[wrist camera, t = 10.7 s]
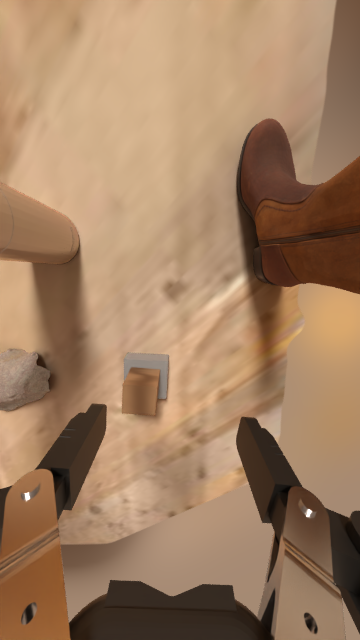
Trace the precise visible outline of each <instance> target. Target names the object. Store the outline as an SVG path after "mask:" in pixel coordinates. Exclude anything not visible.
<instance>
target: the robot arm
mask: <svg viewBox="0 0 360 640" xmlns="http://www.w3.org/2000/svg"><path fill="white" fill-rule="evenodd" d="M78 247H79V236H78V232H77V230H76V228H75V226H74V224H73V223H72V222H71V220H70V219H69V218H67V217H66V216H65V215H63V214H62V213H60V212H58V211H56V210H54V209H52V208H50V207H48V206H46V205H44V204H42V203H41V202H39V201H37V200H35V199H33V198H31V197H29V196H27V195H25V194H23V193H21V192H19V191H17V190H15V189H13V188H11V187H9V186H7V185H5V184H3V183H1V182H0V260H7V261H21V262H36V263H49V264H63V263H66V262H68V261H70V260H71V259H72V258H73V257H74V256H75V255H76V253H77V251H78ZM106 410H107V407H106V405H105V404H91V406H90V407H89V409H88V410H87V412H86V413H79V414H78V415H76V416H75V417H74V418H73V419H71V421H70V422H69V423H68V425H67V426H66V427H65V430H63V432H62V433H61V434H60V437H58V439H57V440H56V441H55V443H54V444H53V446H52V447H51V448H50V450H49V451H48V453H47V454H46V455H45V457H44V458H43V460H42V461H41V462H40V464H39V465H38V467H37V468H36V469H35V470H34V471H31V472H29V473H27V474H26V475H24V476H23V477H21V478H20V479H19V480H18V481H17V482H16V483H15V484H14V485H12V486H10V487H7V488H3V489H0V640H346V636H345V625H344V614H343V604H342V598H343V600H344V602H345V604H346V606H347V608H348V611H349V613H350V615H351V617H352V619H353V621H354V623H355V625H356V627H357V629H358V632H359V633H360V511H354V512H352V514H351V516H350V518H348V517H345V516H343V515H341V514H338V513H336V512H334V511H331V510H329V509H327V508H325V507H324V506H323V504H322V503H321V502H320V500H319V499H318V498H317V497H316V496H315V495H314V494H312V493H311V492H310V491H308V490H306V489H304V488H303V487H302V485H301V483H300V482H299V480H298V478H297V477H296V475H295V473H294V472H293V470H292V468H291V466H290V465H289V463H288V461H287V459H286V458H285V456H284V455H283V453H282V451H281V449H280V448H279V447H278V444H277V442H276V441H275V439H274V437H273V436H272V435H271V434H270V433H269V432H268V431H267V430H266V429H265V428H261V426H260V425H259V423H258V421H257V419H256V418H251V417H242V418H241V420H240V424H239V428H238V433H237V437H236V445H237V450H238V453H239V456H240V458H241V461H242V464H243V467H244V470H245V473H246V476H247V479H248V482H249V485H250V488H251V491H252V494H253V497H254V500H255V503H256V505H257V508H258V511H259V514H260V517H261V520H262V522H263V523H272V526H273V529H274V534H273V539H272V544H271V550H270V556H269V563H268V568H267V574H266V580H265V587H264V591H263V595H262V599H261V603H260V607H259V611H258V616H257V617H256V616H255V615H254V614H253V613H252V612H251V611H250V610H249V609H248V608H247V607H246V606H244V605H243V604H241V603H240V602H239V601H237V600H235V598H234V593H233V587H232V585H210V584H202V585H200V586H198V587H195V588H193V589H190V590H188V591H186V592H184V593H181V594H179V595H176V596H168V595H166V594H164V593H163V592H160V591H159V590H157V589H155V588H153V587H151V586H149V585H146V584H145V583H143V582H141V581H140V582H139V581H117V580H110V583H109V588H108V593H107V594H105V595H102V596H100V597H98V598H97V599H95V600H94V601H92V602H91V603H89V604H88V605H87V606H86V607H84V608H83V609H82V610H81V611H80V612H79V613H78V614H77V615H76V616H75V617H74V618H73V619H72V620H71V621H70V623H69V620H68V611H67V602H66V592H65V583H64V574H63V564H62V555H61V545H60V536H59V530H58V519H59V517H60V515H61V513H62V511H63V510H72V508H73V506H74V503H75V501H76V499H77V497H78V494H79V492H80V490H81V487H82V485H83V483H84V481H85V478H86V476H87V474H88V472H89V469H90V467H91V465H92V463H93V460H94V458H95V456H96V454H97V451H98V449H99V447H100V445H101V442H102V440H103V438H104V435H105V431H106ZM334 583H336V585H335V584H334Z"/></svg>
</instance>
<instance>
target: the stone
mask: <svg viewBox="0 0 360 640" xmlns="http://www.w3.org/2000/svg"><path fill="white" fill-rule="evenodd" d="M37 359H38V354H37V353H36V352H32V353H28V352H26V351H25V350H19V349H8V350H7V351H6V352H3V353H1V354H0V410H5V411H10V410H13V409H15V408H16V407H18V406H22V405H24V404H26V403H29V402H32V401H36V400H39V399H41V398H42V397H44V394H45V393H47V392H49V391H50V390H49V382H48V379H49V377H50V374H51V373H50V371H49V370H47V369H45V368H43V367H41V366H38V365H37V364H36V361H37Z"/></svg>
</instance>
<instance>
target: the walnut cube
mask: <svg viewBox="0 0 360 640" xmlns="http://www.w3.org/2000/svg"><path fill="white" fill-rule="evenodd" d="M159 379H160V369H149V368H137V367H131V368H130V370H129V373H128V375H127V377H126V379H125V381H124V383H123V395H122V413H126V414H140V415H154V416H155V412H156V406H157V399H158V391H159Z"/></svg>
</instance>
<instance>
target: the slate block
mask: <svg viewBox="0 0 360 640" xmlns="http://www.w3.org/2000/svg"><path fill="white" fill-rule="evenodd" d="M168 360H169V355H163V354H143V353H127V355H126V356H125V358H124V381H125V379H126V377H127V375H128V373H129V370H130V368H131V367H137V368H149V369H160V379H159V391H158V399H166V396H167V379H168Z"/></svg>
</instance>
